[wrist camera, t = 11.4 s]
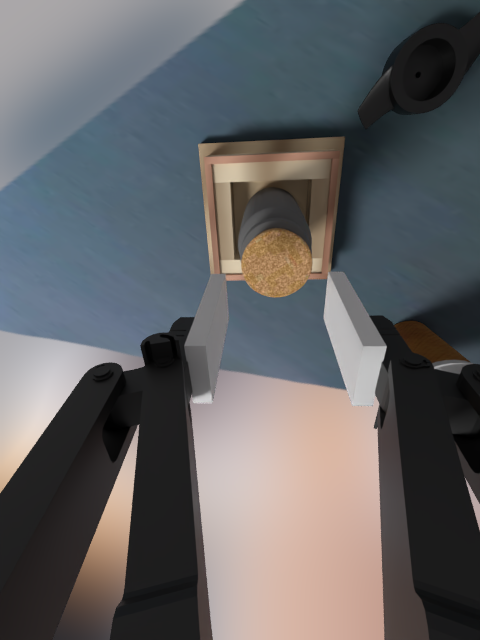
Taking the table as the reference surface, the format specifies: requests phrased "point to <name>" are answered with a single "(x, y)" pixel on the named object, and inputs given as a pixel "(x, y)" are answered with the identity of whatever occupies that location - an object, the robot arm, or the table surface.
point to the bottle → (275, 244)
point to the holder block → (263, 172)
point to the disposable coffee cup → (431, 346)
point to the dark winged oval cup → (423, 71)
